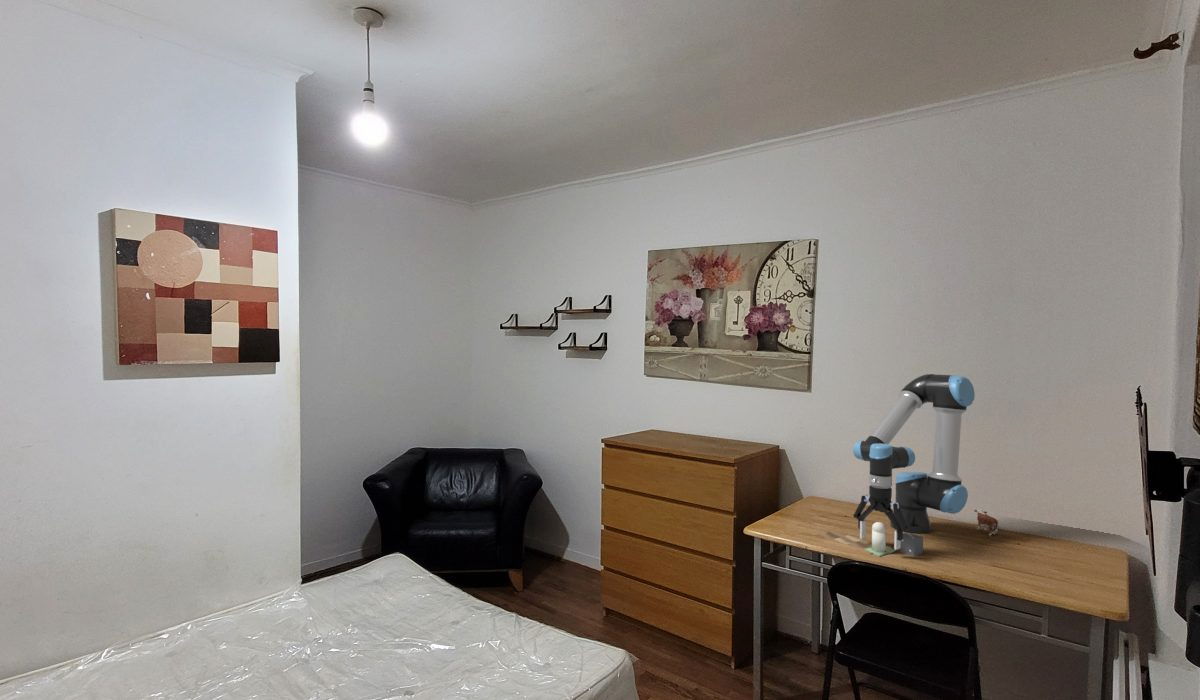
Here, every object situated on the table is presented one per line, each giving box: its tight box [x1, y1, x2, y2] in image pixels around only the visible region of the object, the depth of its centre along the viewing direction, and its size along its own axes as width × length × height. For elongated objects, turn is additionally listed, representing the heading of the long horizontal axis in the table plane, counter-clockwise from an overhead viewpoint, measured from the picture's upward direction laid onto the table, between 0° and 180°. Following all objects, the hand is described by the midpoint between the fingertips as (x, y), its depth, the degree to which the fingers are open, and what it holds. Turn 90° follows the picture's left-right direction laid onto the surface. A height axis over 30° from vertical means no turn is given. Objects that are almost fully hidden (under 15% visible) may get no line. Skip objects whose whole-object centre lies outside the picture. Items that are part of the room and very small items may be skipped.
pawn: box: [871, 521, 887, 552], centre depth 219 cm, size 5×5×10 cm
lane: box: [818, 530, 896, 557], centre depth 228 cm, size 10×26×1 cm, turn 33°
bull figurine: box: [974, 508, 999, 536], centre depth 244 cm, size 4×13×8 cm, turn 174°
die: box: [897, 532, 924, 557], centre depth 219 cm, size 6×6×6 cm
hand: (879, 543), depth 220 cm, fingers open, 13 cm apart
